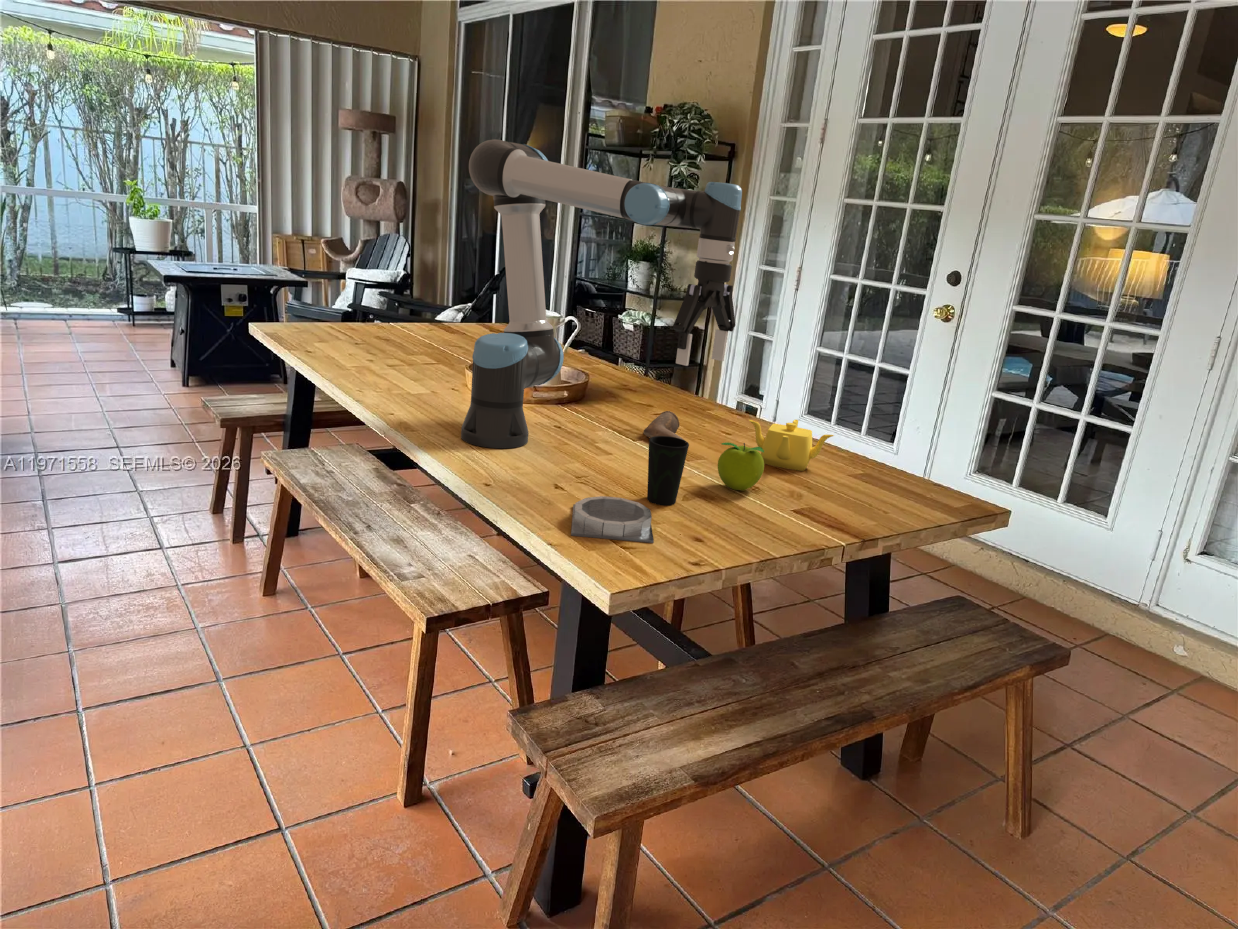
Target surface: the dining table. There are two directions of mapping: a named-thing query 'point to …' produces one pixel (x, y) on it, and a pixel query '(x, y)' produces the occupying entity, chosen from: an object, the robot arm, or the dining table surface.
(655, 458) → the cup
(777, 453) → the teapot
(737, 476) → the fruit
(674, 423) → the pipe
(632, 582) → the dining table surface
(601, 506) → the duct collar
